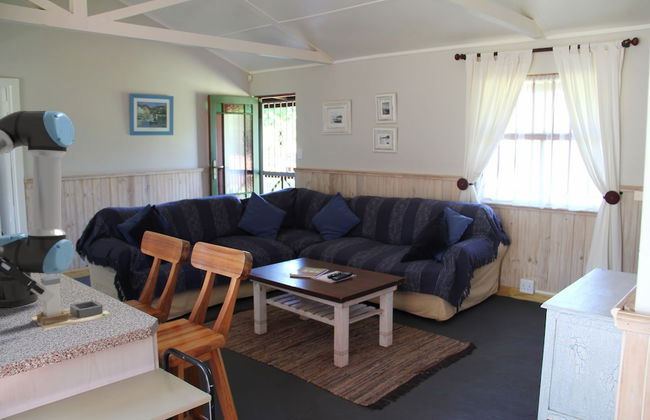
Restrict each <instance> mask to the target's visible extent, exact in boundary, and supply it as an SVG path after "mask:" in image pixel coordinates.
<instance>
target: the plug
mask: <svg viewBox="0 0 650 420" xmlns="http://www.w3.org/2000/svg"><path fill="white" fill-rule="evenodd" d="M40 283H41V285H42V286H43V287H44V288H46V289H47V290H49V291H50V292H51V293H53V294H54V296H53V298H52V299H51V300H50V301H49V302H47V301H45V300H44V299H42V310H43V311H42V312H43V314H44V317H51V316H56V315H61V314H62V312H61V309H62V299H61V296H62V295H61V278H60V277H59V276H57V275H50V276H44V277H40Z"/></svg>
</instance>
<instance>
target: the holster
mask: <svg viewBox="0 0 650 420" xmlns="http://www.w3.org/2000/svg"><path fill="white" fill-rule="evenodd" d="M61 312H62V314H61V315H56V316H51V317H44V314H43V311H39V312H37V313H36V315H37V320H38V321H39V322H40V323H41V324H42V325H49V324H54V323H59V322H63V321H68V319H69V317H68V312H66V311H65V310H64V309H63V308H61Z"/></svg>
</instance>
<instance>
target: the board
mask: <svg viewBox="0 0 650 420" xmlns="http://www.w3.org/2000/svg"><path fill="white" fill-rule="evenodd" d="M63 310H65V311H66V312H68V317H69V319H68V321H63V322H59V323H54V324H49V325H42V324H41V323H40V322H39V321H38V320H37V314H34V315H29V318H30V319H31V320H33V322H35V323H36V324H37V325H38V326H39V327H40V328H42V329H43V330H44V331H48V330H53V329H57V328H63V327H67V326H72V325H77V324H80V323H87V322H91V321H96V320H100V319H104V318H110V317H114V316H115V315H114V314H112V313H110V312H109V311H107V310H105V309H104V308H103V313H106V315H103V313H102V314H99V315H94V316H89V317H84V318H79V317H78V318H76V317H75V316H73V315H72V314H71V313H70V308H66V309H63Z"/></svg>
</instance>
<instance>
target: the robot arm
mask: <svg viewBox="0 0 650 420" xmlns="http://www.w3.org/2000/svg"><path fill="white" fill-rule="evenodd" d="M74 141H75V128H74V123H72V120H71V119H70V117H69V116H68V115H67V114H66V113H64V112H61V111H57V110H56V111H55V110H19V111H15V112H11V113H9V114H7V115H5V116H3V117H1V118H0V158H1V157H2V156H3V155H4V154H9V153H11V152H12V151H13V150H15V149H16V148H19V147H27V152H28V153H30V155H31V156H32V229H31V230H30V231H29V232H18V233H9V234H3V235H0V308H13V307H20V306H25V305H29V304H32V303H34V302H36V301H37V300H39V297H40V298H41V299H42V300H43V299H44V300H45V301H47V302H49V301H50V300H51V299H52V298H53V296H54V294H53V293H51V292H50V291H49V290H47V289H46V288H44V287H43V286H42V284H40V283H38V281H36V280H35V279H33V278H32V274H44V275H57V274H58V275H60V274H63V273H64V272H65V271H67V270H68V268H69V267H70V266H71V264H72V261H73V259H74V255H75V247H74V245H73V242H72V241H71V240H69V239H67V233H66V232H65V230H63V229H62V174H63V173H62V172H63V171H62V159H63V157H64V156H65V155H66V154H67V153H68V152H67V148H68V147H70V146H71V145H72V144H73V142H74Z"/></svg>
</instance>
